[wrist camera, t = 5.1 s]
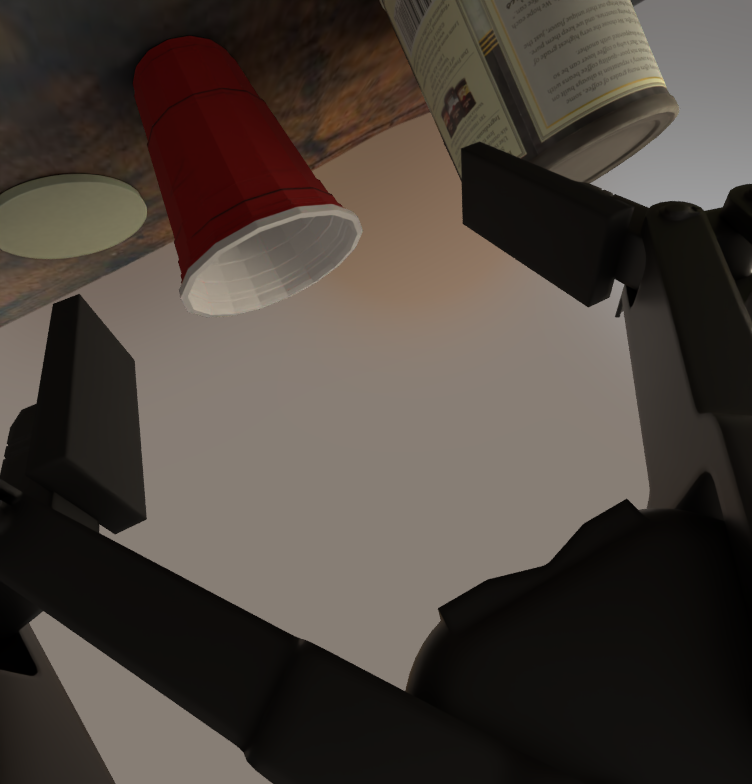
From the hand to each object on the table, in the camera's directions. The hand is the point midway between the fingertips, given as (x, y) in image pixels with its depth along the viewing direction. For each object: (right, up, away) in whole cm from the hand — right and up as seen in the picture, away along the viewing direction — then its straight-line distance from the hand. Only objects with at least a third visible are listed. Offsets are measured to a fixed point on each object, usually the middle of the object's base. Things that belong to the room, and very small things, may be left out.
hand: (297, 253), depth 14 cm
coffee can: (+7, +20, +8) cm, 22 cm away
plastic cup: (-8, +13, +9) cm, 18 cm away
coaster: (-19, +8, +16) cm, 26 cm away
